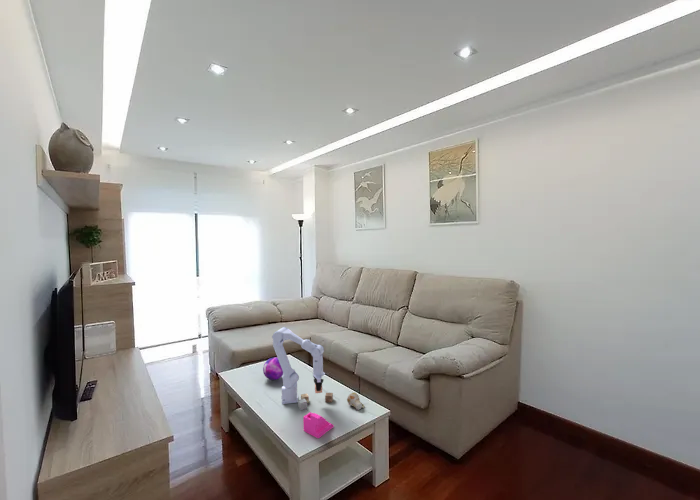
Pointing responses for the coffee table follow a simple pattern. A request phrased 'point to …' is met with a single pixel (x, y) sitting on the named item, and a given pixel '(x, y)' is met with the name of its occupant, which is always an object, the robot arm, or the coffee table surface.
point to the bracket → (316, 425)
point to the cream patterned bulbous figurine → (355, 401)
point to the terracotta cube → (318, 391)
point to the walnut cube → (329, 397)
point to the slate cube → (302, 404)
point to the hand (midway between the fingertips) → (318, 388)
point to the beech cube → (305, 397)
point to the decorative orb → (272, 369)
